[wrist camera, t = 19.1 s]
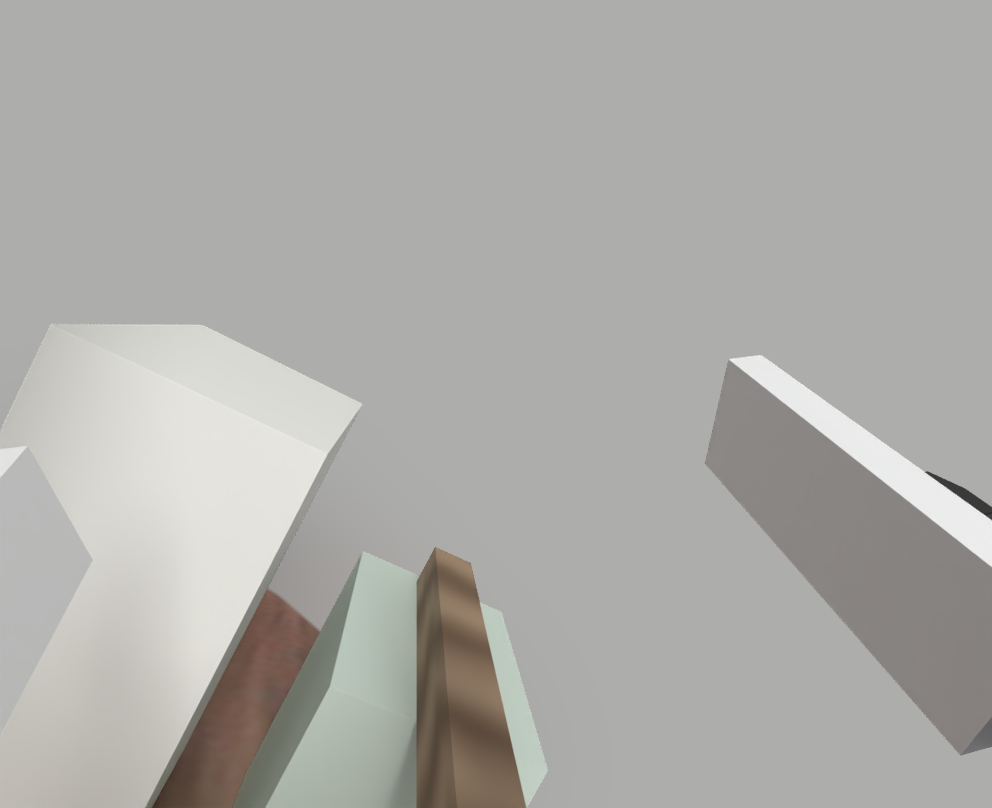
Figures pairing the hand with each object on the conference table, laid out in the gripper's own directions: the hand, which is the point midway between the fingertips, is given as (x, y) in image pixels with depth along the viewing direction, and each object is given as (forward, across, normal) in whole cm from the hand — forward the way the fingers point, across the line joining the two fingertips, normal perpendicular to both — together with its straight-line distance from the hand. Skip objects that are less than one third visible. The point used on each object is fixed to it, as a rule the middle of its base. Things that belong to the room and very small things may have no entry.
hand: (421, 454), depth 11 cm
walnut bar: (+9, 0, -22) cm, 24 cm away
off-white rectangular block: (+12, -25, -31) cm, 42 cm away
